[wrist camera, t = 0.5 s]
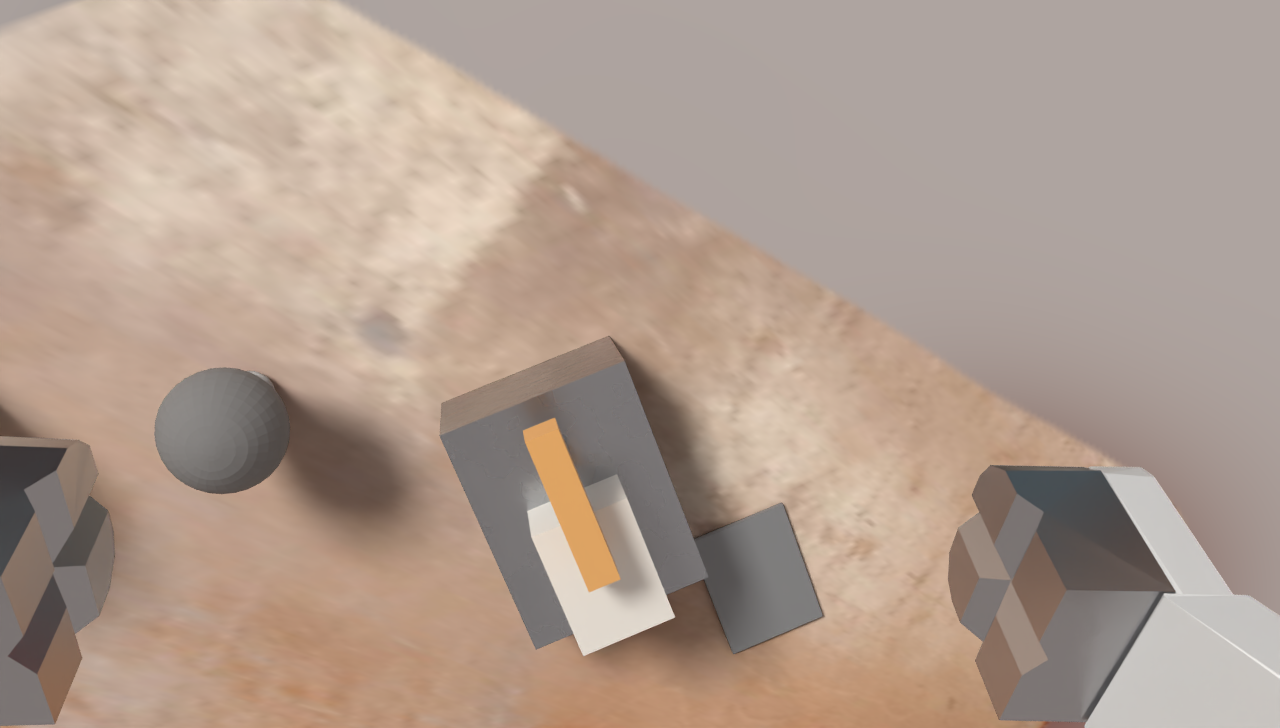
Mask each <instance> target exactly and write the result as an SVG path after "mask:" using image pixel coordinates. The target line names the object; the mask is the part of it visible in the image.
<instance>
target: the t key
mask: <svg viewBox="0 0 1280 728" xmlns="http://www.w3.org/2000/svg"><path fill="white" fill-rule="evenodd" d="M523 435H524V440H525V444H526V446H527V448H528V451H529V453H530V455H531V458H532V460H533V462H534V465H535V467H536V469H537V472H538V474H539V476H540V479H541V481H542V484H543V486H544V488H545V491H546V493H547V495H548V498H549V500H550V502H551V505H552V507H553V509H554V512H555V514H556V516H557V519H558V521H559V523H560V526H561V528H562V530H563V533H564V535H565V537H566V540H567V542H568V544H569V547H570V549H571V551H572V554H573V556H574V558H575V561H576V563H577V566H578V568H579V570H580V573H581V575H582V577H583V580H584V582H585V584H586V587H587V589H588V591H589V592H592V591H594V590H596V589H599V588H601V587H604V586H606V585H608V584H611V583H613V582H616V581H618V580H620V579H621V578H620V575H619V572H618V569H617V566H616V563H615V561H614V559H613V556H612V554H611V551H610V549H609V547H608V544H607V542H606V539H605V537H604V535H603V532H602V530H601V527H600V525H599V522H598V520H597V518H596V515H595V513H594V510H593V508H592V506H591V503H590V501H589V498H588V496H587V494H586V491H585V489H584V486H583V484H582V481H581V479H580V477H579V474H578V472H577V469H576V467H575V465H574V462H573V460H572V457H571V455H570V452H569V449H568V446H567V444H566V442H565V441H564V438H563V436H562V433H561V431H560V428H559V426H558V424H557V421H556V419H555V418H552V419H550V420H547V421H545V422H543V423H540V424H538V425H535V426H533V427H530V428H528V429H525V430H523Z"/></svg>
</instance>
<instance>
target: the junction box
mask: <svg viewBox="0 0 1280 728" xmlns="http://www.w3.org/2000/svg"><path fill="white" fill-rule="evenodd" d="M552 418H555V419H556V421H557V424H558V426H559V428H560V431H561V433H562V436H563V438H564V441H565V442H566V444H567V446H568V449H569V452H570V455H571V457H572V460H573V462H574V465H575V467H576V469H577V472H578V474H579V477H580V479H581V481H582V484H583V486H584V487H587V486H589V485H592V484H594V483H597V482H599V481H601V480H604V479H606V478H609V477H611V476H614V475H616V474H617V475H618V478H619V480H620V483H621V485H622V487H623V490H624V492H625V495H626V497H627V499H628V502H629V504H630V507H631V509H632V512H633V514H634V517H635V519H636V522H637V524H638V527H639V529H640V532H641V534H642V537H643V539H644V542H645V544H646V546H647V549H648V551H649V554H650V556H651V559H652V561H653V564H654V566H655V569H656V571H657V574H658V576H659V579H660V581H661V584H662V586H663V589H664V591H665V594H666V595H667V594H670V593H672V592H674V591H677V590H679V589H681V588H684V587H686V586H689V585H691V584H693V583H696V582H698V581H701V580H703V579H705V578H708V574H707V572H706V569H705V567H704V564H703V561H702V559H701V556H700V554H699V551H698V549H697V546H696V543H695V541H694V538H693V536H692V533H691V530H690V528H689V525H688V523H687V520H686V518H685V515H684V512H683V510H682V507H681V505H680V502H679V500H678V497H677V494H676V492H675V489H674V487H673V484H672V482H671V479H670V476H669V474H668V471H667V469H666V466H665V463H664V461H663V458H662V456H661V453H660V451H659V448H658V445H657V443H656V440H655V438H654V435H653V433H652V430H651V427H650V425H649V422H648V420H647V417H646V415H645V412H644V409H643V407H642V404H641V402H640V399H639V396H638V394H637V391H636V389H635V386H634V384H633V381H632V378H631V376H630V373H629V371H628V368H627V366H626V363H625V361H624V359H623V357H622V356H621V354H620V353H619V351H618V349H617V348H616V346H615V345H614V343H613V341H612V340H611V338H610V337H609V336H608V337H605V338H603V339H600V340H598V341H595V342H593V343H590V344H588V345H585V346H583V347H580V348H578V349H575V350H573V351H570V352H568V353H565V354H563V355H560V356H558V357H555V358H553V359H550V360H548V361H545V362H543V363H540V364H538V365H535V366H533V367H530V368H528V369H525V370H523V371H520V372H518V373H516V374H513V375H511V376H508V377H506V378H503V379H501V380H498V381H496V382H493V383H491V384H488V385H486V386H483V387H481V388H478V389H476V390H473V391H471V392H468V393H466V394H463V395H461V396H458V397H456V398H453V399H451V400H448V401H446V402H443V403H442V405H441V421H440V438H441V440H442V442H443V445H444V447H445V449H446V451H447V453H448V456H449V458H450V460H451V462H452V464H453V467H454V469H455V471H456V473H457V476H458V478H459V480H460V482H461V484H462V487H463V489H464V491H465V493H466V495H467V498H468V500H469V502H470V504H471V507H472V509H473V511H474V513H475V515H476V518H477V520H478V522H479V524H480V527H481V529H482V531H483V533H484V535H485V538H486V540H487V542H488V544H489V546H490V549H491V551H492V553H493V555H494V558H495V560H496V562H497V564H498V566H499V569H500V571H501V573H502V575H503V577H504V580H505V582H506V584H507V586H508V589H509V591H510V593H511V595H512V597H513V600H514V602H515V604H516V606H517V608H518V611H519V613H520V615H521V617H522V620H523V622H524V624H525V626H526V628H527V631H528V633H529V635H530V637H531V640H532V642H533V644H534V646H535V648H536V649H539V648H541V647H543V646H546V645H548V644H550V643H553V642H555V641H558V640H560V639H562V638H565V637H567V636H570V635H572V634H573V631H572V629H571V627H570V625H569V622H568V620H567V618H566V615H565V613H564V611H563V609H562V606H561V604H560V602H559V599H558V597H557V595H556V593H555V590H554V588H553V586H552V583H551V581H550V579H549V577H548V574H547V572H546V570H545V567H544V565H543V563H542V561H541V558H540V556H539V554H538V551H537V549H536V547H535V545H534V542H533V540H532V538H531V532H530V525H529V519H528V513H527V511H528V510H531V509H533V508H536V507H538V506H541V505H543V504H545V503H548V502H550V500H549V498H548V495H547V493H546V491H545V488H544V486H543V484H542V481H541V479H540V476H539V474H538V472H537V469H536V467H535V465H534V462H533V460H532V458H531V455H530V453H529V451H528V448H527V446H526V444H525V440H524V435H523V430H525V429H528V428H530V427H533V426H535V425H538V424H540V423H543V422H545V421H547V420H550V419H552Z"/></svg>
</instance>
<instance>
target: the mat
mask: <svg viewBox="0 0 1280 728" xmlns="http://www.w3.org/2000/svg"><path fill="white" fill-rule="evenodd" d="M694 541H695V543H696V546H697V549H698V551H699V554H700V556H701V559H702V561H703V564H704V567H705V569H706V572H707V574H708V578H705V579H704V581H705V583H706V586H707V589H708V591H709V594H710V596H711V599H712V601H713V604H714V606H715V609H716V612H717V614H718V617H719V619H720V622H721V624H722V627H723V630H724V632H725V635H726V637H727V640H728V642H729V645H730V648H731V650H732V652H733V654H735V653H737V652H740V651H742V650H744V649H747V648H749V647H752V646H754V645H756V644H759V643H761V642H763V641H766V640H768V639H770V638H773V637H775V636H777V635H780V634H782V633H784V632H787V631H789V630H792V629H794V628H796V627H799V626H801V625H803V624H806V623H808V622H810V621H813V620H815V619H817V618H820V617H822V616H823V615H822V612H821V609H820V606H819V604H818V601H817V598H816V595H815V592H814V590H813V587H812V584H811V581H810V578H809V576H808V573H807V570H806V567H805V564H804V562H803V559H802V556H801V553H800V550H799V548H798V545H797V542H796V539H795V536H794V534H793V531H792V528H791V525H790V522H789V520H788V517H787V514H786V511H785V508H784V506H783V504H782V503H779V504H777V505H775V506H772V507H770V508H767V509H765V510H763V511H760V512H758V513H755V514H753V515H751V516H748V517H746V518H743V519H741V520H739V521H736V522H734V523H731V524H729V525H727V526H724V527H722V528H719V529H717V530H715V531H712V532H710V533H707V534H705V535H703V536H700V537H698V538H695V539H694Z"/></svg>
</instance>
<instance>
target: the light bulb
mask: <svg viewBox="0 0 1280 728" xmlns="http://www.w3.org/2000/svg"><path fill="white" fill-rule="evenodd" d="M154 435H155V441H156V447H157V450H158V452H159V455H160V457H161V460H162V461H163V463H164V464H165V466H166V467H167V469H168V470H169V471H170V472H171V473H172V474H173V475H174V476H175V477H176V478H177V479H179V480H180V481H181V482H183V483H184V484H186V485H188V486H190V487H192V488H194V489H196V490H200V491H203V492H207V493H216V494H226V493H236V492H239V491H243V490H246V489H249V488H251V487H253V486H255V485H257V484H259V483H261V482H262V481H263V480H265V479H266V478H267V477H269V476H270V475H271V474H272V473H273V472H274V470H275V469H276V468H277V467H278V466H279V464H280V462H281V460H282V458H283V457H284V455H285V453H286V450H287V446H288V443H289V435H290V423H289V416H288V413H287V410H286V407H285V405H284V403H283V401H282V399H281V398H280V396H279V394H278V393H277V392H276V391H275V388H274V385H273V384H272V382H271V381H270V379H269V378H268V377H266V376H265V375H263V374H261V373H259V372H255V371H243V370H240V369H234V368H213V369H208V370H204V371H201V372H198V373H196V374H194V375H191V376H189V377H187V378H185V379H184V380H183V381H181V382H180V383H179V384H177V385H176V386H175V387H174V388H173V389H172V390H171V391H170V392H169V394H168V395H167V396H166V397H165V398H164V400H163V402H162V404H161V406H160V407H159V410H158V413H157V417H156V420H155V434H154Z"/></svg>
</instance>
